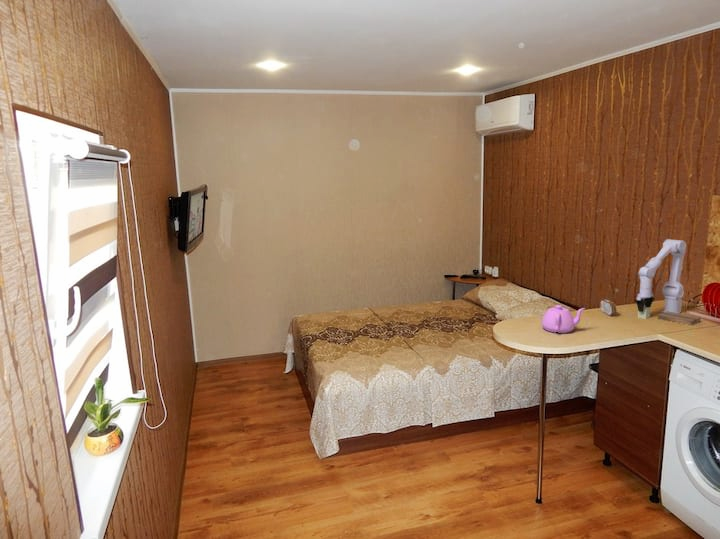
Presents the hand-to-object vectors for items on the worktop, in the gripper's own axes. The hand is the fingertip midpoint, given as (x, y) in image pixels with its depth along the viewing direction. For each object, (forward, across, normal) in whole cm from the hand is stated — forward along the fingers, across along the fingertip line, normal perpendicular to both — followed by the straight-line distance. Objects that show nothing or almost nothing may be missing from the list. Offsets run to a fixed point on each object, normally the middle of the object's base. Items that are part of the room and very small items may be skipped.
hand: (644, 310), depth 276 cm
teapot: (+5, +56, -15) cm, 58 cm away
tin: (+4, +8, -17) cm, 19 cm away
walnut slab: (+5, -8, +15) cm, 18 cm away
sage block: (+4, 0, 0) cm, 4 cm away
